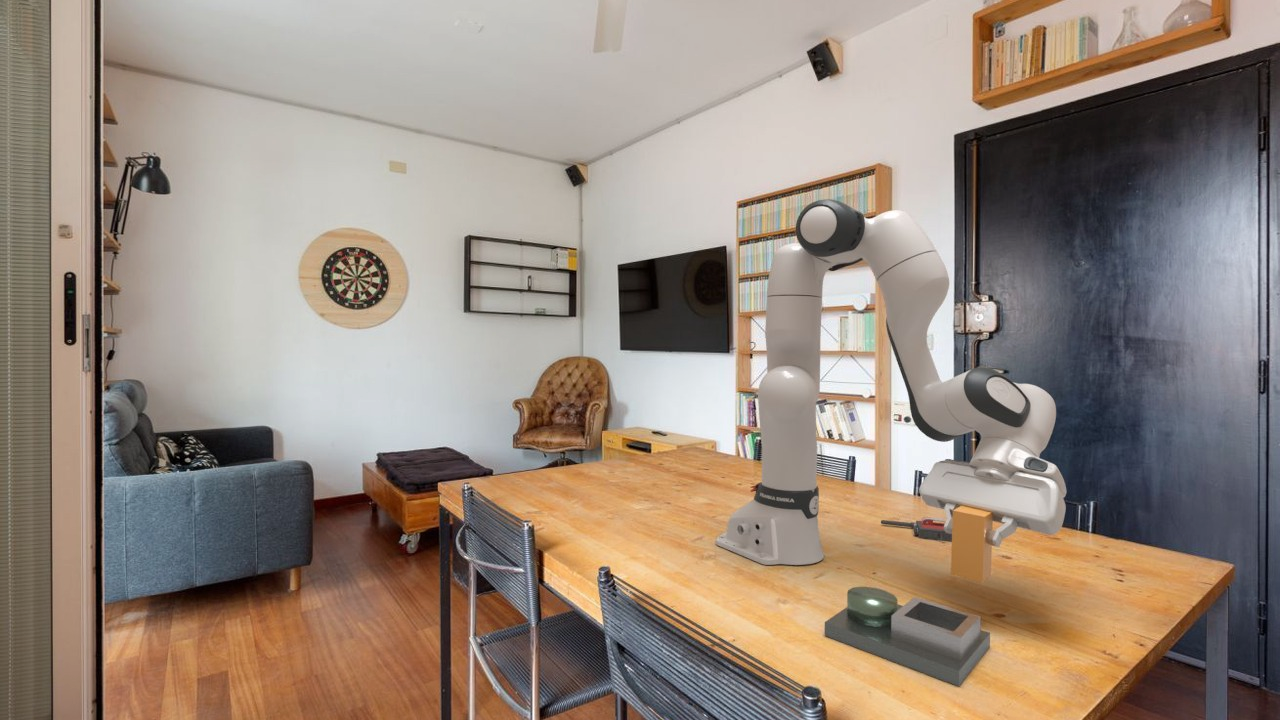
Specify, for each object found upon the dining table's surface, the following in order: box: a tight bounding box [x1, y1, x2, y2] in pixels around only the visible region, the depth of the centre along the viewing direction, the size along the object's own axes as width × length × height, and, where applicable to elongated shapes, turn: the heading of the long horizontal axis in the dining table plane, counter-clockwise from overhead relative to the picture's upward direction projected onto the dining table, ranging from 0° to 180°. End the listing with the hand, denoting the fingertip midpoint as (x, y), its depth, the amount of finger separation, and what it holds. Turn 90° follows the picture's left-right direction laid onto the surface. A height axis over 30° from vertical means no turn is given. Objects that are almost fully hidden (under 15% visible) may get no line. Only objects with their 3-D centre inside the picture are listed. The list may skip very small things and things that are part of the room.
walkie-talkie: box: [880, 516, 952, 543], centre depth 133 cm, size 9×4×20 cm
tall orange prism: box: [950, 506, 994, 584], centre depth 90 cm, size 4×4×10 cm
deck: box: [824, 586, 991, 687], centre depth 83 cm, size 18×14×5 cm
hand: (970, 537), depth 89 cm, fingers closed on tall orange prism, 5 cm apart
